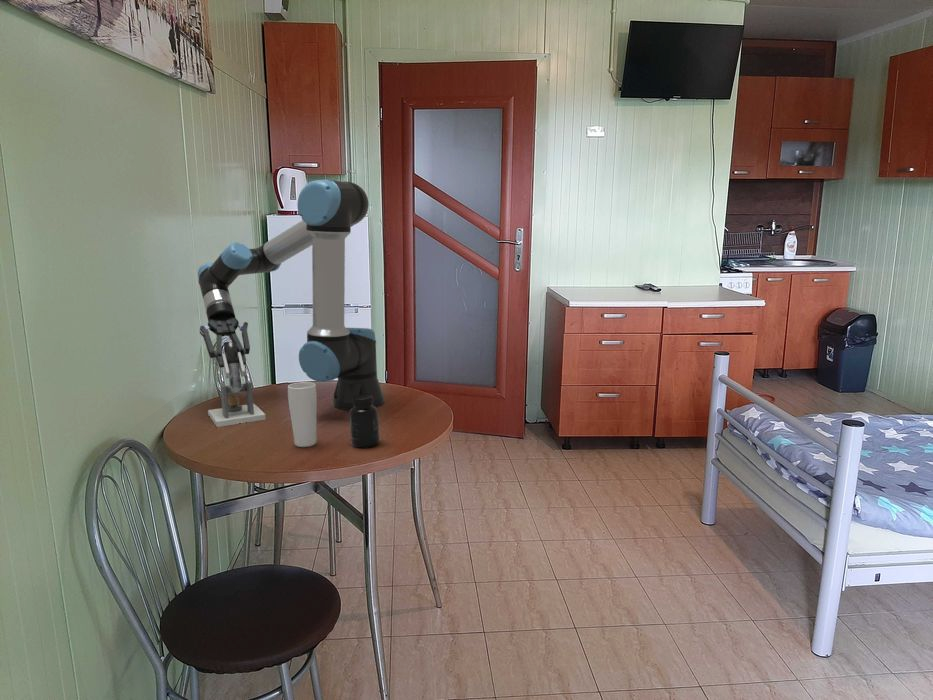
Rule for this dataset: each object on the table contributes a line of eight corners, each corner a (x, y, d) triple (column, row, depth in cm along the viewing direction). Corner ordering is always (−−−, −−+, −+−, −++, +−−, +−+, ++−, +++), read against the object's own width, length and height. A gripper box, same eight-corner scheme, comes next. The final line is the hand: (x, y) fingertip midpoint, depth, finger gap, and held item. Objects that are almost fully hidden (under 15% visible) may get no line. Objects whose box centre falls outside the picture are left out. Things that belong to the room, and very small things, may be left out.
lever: (222, 395, 194) (215, 346, 195) (241, 392, 197) (234, 344, 198) (227, 393, 186) (221, 342, 187) (247, 390, 188) (240, 340, 189)
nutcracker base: (208, 415, 196) (205, 379, 194) (254, 408, 202) (251, 373, 200) (217, 427, 184) (213, 389, 182) (265, 419, 190) (262, 383, 188)
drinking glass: (324, 445, 167) (320, 385, 164) (297, 450, 163) (293, 389, 160) (313, 438, 172) (309, 380, 170) (287, 443, 169) (283, 384, 166)
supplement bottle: (370, 438, 172) (368, 391, 169) (384, 444, 166) (382, 396, 164) (346, 443, 167) (343, 396, 165) (360, 450, 162) (357, 401, 160)
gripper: (247, 314, 205) (264, 378, 194) (188, 319, 197) (203, 386, 186) (249, 298, 200) (267, 363, 189) (189, 302, 192) (204, 370, 181)
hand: (235, 374), depth 187 cm, fingers closed on lever, 3 cm apart
